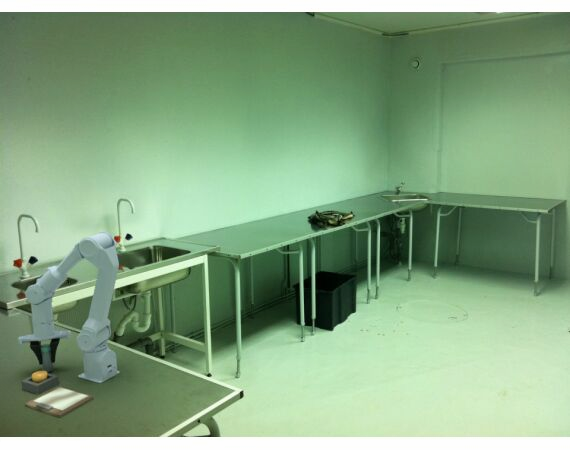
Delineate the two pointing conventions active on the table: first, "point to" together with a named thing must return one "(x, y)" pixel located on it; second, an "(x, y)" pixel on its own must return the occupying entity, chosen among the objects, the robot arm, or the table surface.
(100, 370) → the robot arm
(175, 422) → the table surface
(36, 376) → the button
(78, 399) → the clipboard
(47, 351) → the marker
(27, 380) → the button base
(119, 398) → the table surface
